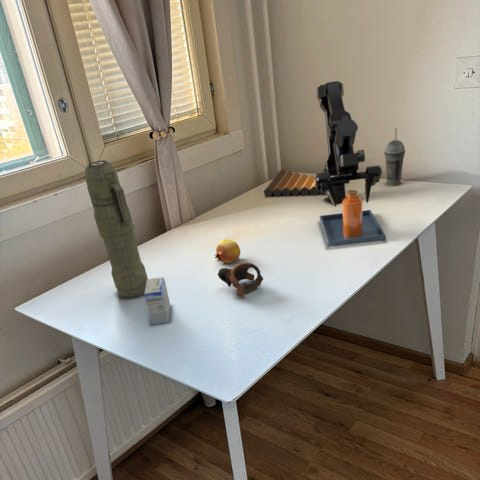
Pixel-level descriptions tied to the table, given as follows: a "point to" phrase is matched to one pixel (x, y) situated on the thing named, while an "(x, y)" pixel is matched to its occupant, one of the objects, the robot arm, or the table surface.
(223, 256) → the fruit
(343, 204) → the orange bottle
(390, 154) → the beverage cup
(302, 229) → the table surface
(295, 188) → the pan flute
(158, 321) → the medicine box
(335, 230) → the blue rectangular tray
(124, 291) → the thermos
